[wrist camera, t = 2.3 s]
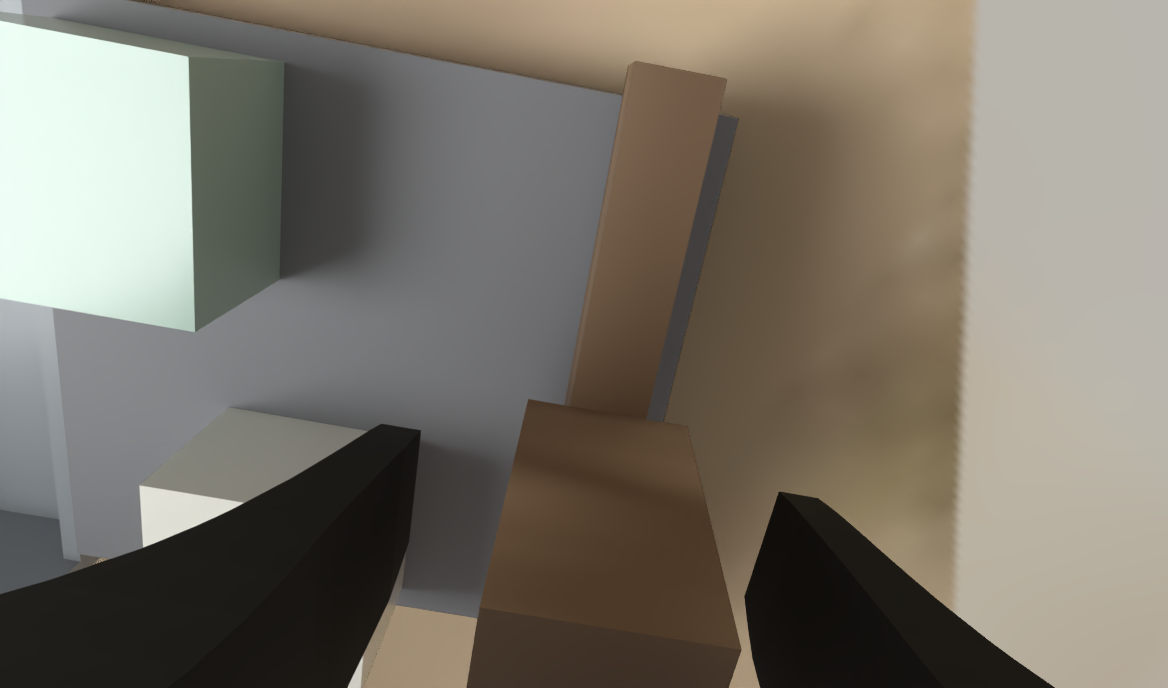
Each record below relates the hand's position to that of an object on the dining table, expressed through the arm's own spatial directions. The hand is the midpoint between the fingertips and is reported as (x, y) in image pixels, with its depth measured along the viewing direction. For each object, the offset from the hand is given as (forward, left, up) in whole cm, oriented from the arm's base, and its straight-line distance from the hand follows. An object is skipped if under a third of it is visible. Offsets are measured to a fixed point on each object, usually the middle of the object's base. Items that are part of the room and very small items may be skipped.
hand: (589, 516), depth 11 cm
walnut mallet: (0, 0, -4) cm, 4 cm away
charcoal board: (-5, 0, -6) cm, 8 cm away
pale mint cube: (-8, +4, -4) cm, 10 cm away
